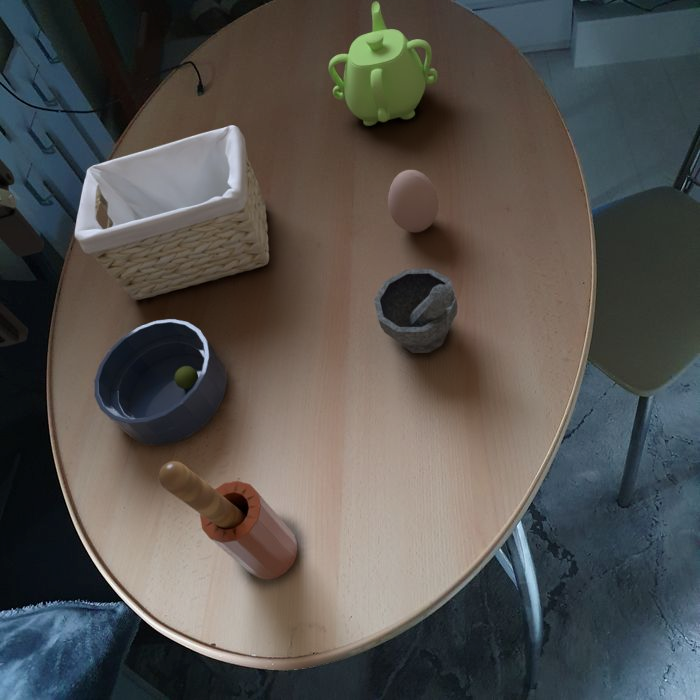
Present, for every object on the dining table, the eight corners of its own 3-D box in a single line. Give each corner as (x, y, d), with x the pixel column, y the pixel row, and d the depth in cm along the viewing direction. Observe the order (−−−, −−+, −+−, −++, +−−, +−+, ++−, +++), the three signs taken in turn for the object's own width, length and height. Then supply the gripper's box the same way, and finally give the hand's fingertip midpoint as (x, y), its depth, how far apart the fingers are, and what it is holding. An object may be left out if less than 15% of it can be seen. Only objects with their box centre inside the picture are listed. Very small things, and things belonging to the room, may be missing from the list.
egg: (407, 205, 99) (396, 152, 91) (450, 214, 96) (441, 160, 88) (386, 238, 96) (372, 187, 88) (429, 248, 93) (419, 196, 85)
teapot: (326, 109, 117) (305, 41, 107) (389, 66, 120) (375, -3, 110) (382, 146, 108) (365, 76, 98) (450, 99, 110) (439, 27, 100)
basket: (124, 310, 100) (68, 241, 88) (133, 234, 110) (83, 163, 98) (278, 271, 97) (241, 195, 86) (273, 196, 107) (239, 119, 95)
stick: (274, 562, 72) (171, 487, 54) (255, 556, 73) (147, 480, 55) (283, 540, 73) (184, 460, 55) (264, 534, 74) (161, 453, 56)
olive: (197, 393, 87) (184, 391, 89) (206, 372, 88) (192, 370, 90) (179, 385, 85) (166, 383, 87) (188, 363, 86) (175, 361, 88)
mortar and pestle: (370, 339, 87) (348, 278, 77) (418, 292, 89) (403, 228, 80) (435, 384, 80) (421, 325, 71) (486, 332, 83) (478, 268, 73)
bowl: (194, 459, 82) (171, 435, 77) (99, 432, 88) (71, 407, 83) (247, 358, 89) (229, 329, 84) (156, 338, 95) (134, 311, 90)
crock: (284, 587, 71) (243, 550, 61) (235, 569, 73) (189, 531, 64) (306, 533, 74) (270, 490, 64) (258, 518, 76) (217, 474, 66)
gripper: (-186, 48, 40) (-7, 238, 53) (-287, 209, 31) (-44, 388, 44) (-71, 9, 39) (82, 212, 52) (-143, 163, 30) (62, 360, 43)
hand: (24, 293), depth 48 cm, fingers open, 8 cm apart
